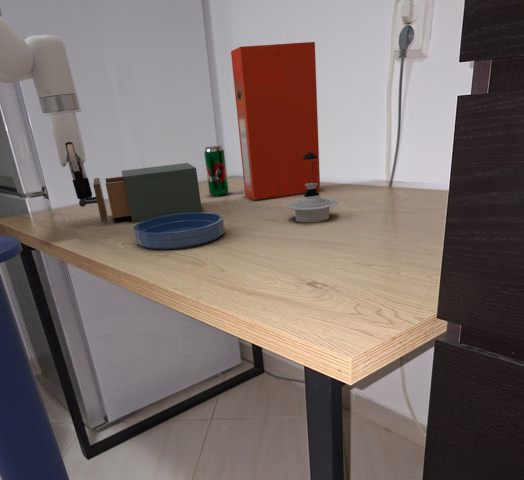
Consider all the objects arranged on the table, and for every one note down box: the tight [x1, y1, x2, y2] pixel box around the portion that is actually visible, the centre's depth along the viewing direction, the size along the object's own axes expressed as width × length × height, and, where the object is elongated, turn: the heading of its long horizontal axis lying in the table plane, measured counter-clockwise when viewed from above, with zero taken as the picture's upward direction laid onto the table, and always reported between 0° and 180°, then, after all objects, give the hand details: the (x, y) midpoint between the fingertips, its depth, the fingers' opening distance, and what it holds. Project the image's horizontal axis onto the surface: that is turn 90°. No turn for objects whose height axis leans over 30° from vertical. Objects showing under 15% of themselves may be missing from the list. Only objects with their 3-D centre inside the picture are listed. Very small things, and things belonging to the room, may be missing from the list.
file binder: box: [230, 41, 321, 201], centre depth 118 cm, size 8×17×32 cm, turn 109°
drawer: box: [78, 175, 131, 222], centre depth 112 cm, size 18×11×8 cm, turn 106°
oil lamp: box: [286, 151, 339, 223], centre depth 95 cm, size 12×10×10 cm
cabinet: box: [121, 162, 203, 223], centre depth 114 cm, size 16×13×10 cm
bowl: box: [133, 211, 226, 250], centre depth 91 cm, size 16×16×3 cm
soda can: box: [204, 145, 229, 197], centre depth 129 cm, size 5×5×12 cm
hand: (85, 197), depth 110 cm, fingers closed
